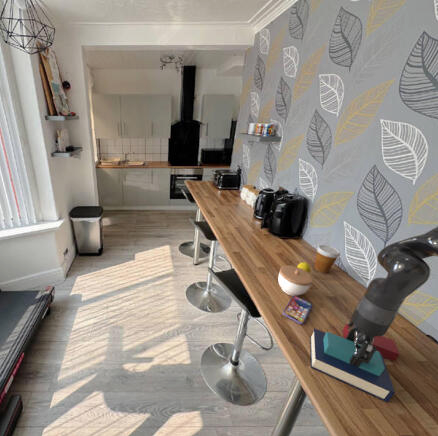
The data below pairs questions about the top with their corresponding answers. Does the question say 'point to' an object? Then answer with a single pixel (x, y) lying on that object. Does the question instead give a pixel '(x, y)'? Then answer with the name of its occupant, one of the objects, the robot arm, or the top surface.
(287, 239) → the top surface
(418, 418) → the top surface
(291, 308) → the smartphone
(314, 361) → the big book
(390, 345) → the red rectangular block
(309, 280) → the lidded bowl
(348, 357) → the teal rectangular block
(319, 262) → the disposable coffee cup
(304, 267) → the lemon
